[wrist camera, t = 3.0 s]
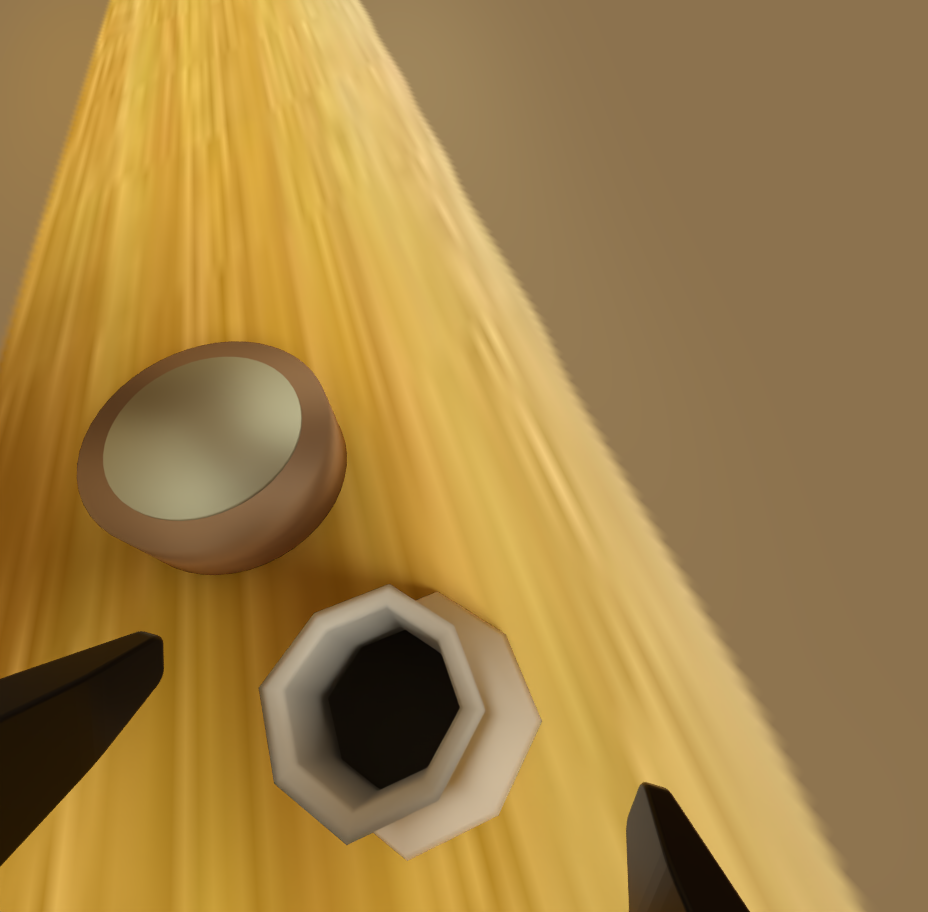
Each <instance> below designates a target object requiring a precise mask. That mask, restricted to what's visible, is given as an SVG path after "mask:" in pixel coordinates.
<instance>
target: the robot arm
mask: <svg viewBox="0 0 928 912" xmlns="http://www.w3.org/2000/svg"><path fill="white" fill-rule="evenodd" d="M163 672H164V656H163V640H162V638H161V637H160V636H157V635H154V634H151V633H147V632H142V631H140V632H136V633H133V634H130V635H127V636H124V637H121V638H118V639H115V640H112V641H109V642H106V643H103V644H101V645H98V646H95V647H92V648H89V649H86V650H83V651H80V652H77V653H74V654H71V655H68V656H66V657H63V658H60V659H57V660H54V661H51V662H48V663H45V664H42V665H39V666H36V667H33V668H30V669H28V670H25V671H22V672H19V673H16V674H13V675H10V676H7V677H4V678H1V679H0V866H1V865H2V864H3V863H4V862H5V861H6V860H7V859H8V858H9V857H10V856H11V854H12V853H13V852H14V851H15V850H16V849H17V848H18V847H19V846H20V845H21V844H22V843H23V841H24V840H25V839H26V838H27V837H28V836H29V835H30V834H31V833H32V832H33V831H34V830H35V829H36V827H37V826H38V825H39V824H40V823H41V822H42V821H43V820H44V819H45V818H46V817H47V816H48V814H49V813H50V812H51V811H52V810H53V809H54V808H55V807H56V806H57V805H58V804H59V803H60V801H61V800H62V799H63V798H64V797H65V796H66V795H67V794H68V793H69V792H70V791H71V790H72V789H73V787H74V786H75V785H76V784H77V783H78V782H79V781H80V780H81V779H82V778H83V777H84V775H85V774H86V773H87V772H88V771H89V770H90V769H91V768H92V766H93V765H94V764H95V763H96V762H97V761H98V759H99V758H100V757H101V756H102V755H103V753H104V752H105V751H106V750H107V749H108V747H109V746H110V745H111V743H112V742H113V741H114V740H115V738H116V737H117V736H118V735H119V733H120V732H121V731H122V730H123V728H124V727H125V726H126V724H127V723H128V722H129V721H130V719H131V718H132V717H133V716H134V714H135V713H136V712H137V711H138V709H139V708H140V707H141V705H142V704H143V703H144V702H145V700H146V699H147V698H148V697H149V695H150V694H151V693H152V692H153V690H154V689H155V688H156V686H157V685H158V684H159V682H160V680H161V678H162V675H163ZM626 840H627V866H628V893H629V912H750V911H749V910H748V908H747V907H746V905H745V904H744V902H743V901H742V899H741V898H740V896H739V895H738V893H737V892H736V890H735V889H734V887H733V886H732V884H731V883H730V881H729V880H728V878H727V876H726V875H725V873H724V872H723V870H722V869H721V867H720V866H719V864H718V863H717V861H716V860H715V858H714V857H713V855H712V854H711V852H710V851H709V849H708V848H707V846H706V845H705V843H704V842H703V840H702V839H701V837H700V836H699V834H698V833H697V831H696V830H695V828H694V827H693V825H692V824H691V822H690V821H689V819H688V818H687V816H686V815H685V813H684V812H683V810H682V809H681V807H680V806H679V804H678V803H677V801H676V800H675V798H674V797H673V795H672V794H671V793H670V792H669V791H668V790H667V789H666V788H664V787H660V786H657V785H654V784H650V783H647V782H643V783H642V784H641V785H640V786H639V789H638V791H637V794H636V796H635V799H634V802H633V804H632V807H631V810H630V812H629V815H628V819H627V826H626Z"/></svg>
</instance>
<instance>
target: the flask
mask: <svg viewBox="0 0 928 912" xmlns="http://www.w3.org/2000/svg"><path fill="white" fill-rule="evenodd" d="M259 692H260V699H261V705H262V711H263V717H264V723H265V729H266V736H267V742H268V748H269V754H270V760H271V766H272V773H273V779H274V784H276V785H277V786H278V787H279V788H280V789H281V790H283V791H284V792H285V793H286V794H287V795H288V796H290V797H291V798H292V799H293V800H294V801H296V802H297V803H298V804H299V805H300V806H301V807H303V808H304V809H305V810H306V811H307V812H308V813H310V814H311V815H312V816H313V817H314V818H316V819H317V820H318V821H319V822H320V823H321V824H323V825H324V826H325V827H326V828H327V829H328V830H330V831H331V832H332V833H333V834H334V835H336V836H337V837H338V838H339V839H340V840H341V841H343V842H344V843H345V844H346V845H348V844H350V843H352V842H354V841H356V840H358V839H360V838H363V837H365V836H367V835H369V834H371V833H374V834H375V835H377V836H378V837H379V838H380V839H382V840H383V841H384V842H385V843H386V844H388V845H389V846H390V847H391V848H392V849H394V850H395V851H396V852H397V853H398V854H400V855H401V856H402V857H403V858H405V859H406V860H407V861H408V860H410V859H412V858H414V857H416V856H418V855H420V854H422V853H424V852H426V851H428V850H430V849H432V848H434V847H436V846H438V845H440V844H442V843H444V842H446V841H448V840H450V839H452V838H454V837H456V836H458V835H460V834H462V833H464V832H466V831H468V830H470V829H472V828H474V827H476V826H478V825H480V824H482V823H484V822H486V821H488V820H490V819H492V818H494V817H496V816H498V815H499V813H500V811H501V809H502V806H503V804H504V802H505V800H506V798H507V796H508V793H509V791H510V789H511V787H512V785H513V783H514V780H515V778H516V776H517V774H518V772H519V770H520V768H521V765H522V763H523V761H524V759H525V757H526V755H527V752H528V750H529V748H530V746H531V744H532V742H533V739H534V737H535V735H536V733H537V731H538V729H539V726H540V724H541V722H542V720H541V718H540V716H539V713H538V711H537V708H536V706H535V704H534V701H533V699H532V696H531V694H530V692H529V689H528V687H527V684H526V682H525V680H524V677H523V675H522V672H521V670H520V668H519V665H518V663H517V660H516V658H515V656H514V653H513V651H512V648H511V646H510V643H509V641H508V639H507V636H506V634H504V633H503V632H501V631H500V630H498V629H496V628H495V627H493V626H492V625H490V624H488V623H487V622H485V621H484V620H482V619H480V618H479V617H477V616H476V615H474V614H473V613H471V612H469V611H468V610H466V609H465V608H463V607H461V606H460V605H458V604H457V603H455V602H453V601H452V600H450V599H449V598H447V597H446V596H444V595H442V594H441V593H439V592H438V591H437V592H435V593H432V594H430V595H427V596H425V597H422V598H420V599H417V600H414V599H412V598H411V597H409V596H407V595H406V594H404V593H403V592H401V591H400V590H398V589H397V588H395V587H393V586H392V585H390V584H388V585H385V586H383V587H380V588H378V589H375V590H372V591H370V592H367V593H365V594H362V595H360V596H357V597H354V598H352V599H349V600H347V601H344V602H342V603H339V604H336V605H334V606H331V607H329V608H326V609H324V610H321V611H318V612H316V613H314V614H313V615H312V617H311V618H310V619H309V621H308V622H307V623H306V625H305V626H304V628H303V629H302V630H301V632H300V633H299V634H298V636H297V637H296V638H295V640H294V641H293V642H292V644H291V645H290V646H289V648H288V649H287V650H286V652H285V653H284V655H283V656H282V657H281V659H280V660H279V661H278V663H277V664H276V665H275V667H274V668H273V669H272V671H271V672H270V673H269V675H268V676H267V677H266V679H265V680H264V682H263V683H262V684H261V686H260V687H259Z"/></svg>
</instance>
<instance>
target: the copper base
mask: <svg viewBox="0 0 928 912" xmlns="http://www.w3.org/2000/svg"><path fill="white" fill-rule="evenodd" d="M346 466H347V452H346V445H345V440H344V437H343V434H342V431H341V429H340V426H339V424H338V422H337V420H336V417H335V415H334V413H333V410H332V408H331V406H330V404H329V401H328V399H327V397H326V395H325V392H324V390H323V388H322V386H321V384H320V382H319V380H318V379H317V377H316V376H315V375H314V373H313V372H312V371H311V370H310V369H309V368H308V367H307V366H306V365H305V364H304V363H303V362H301V361H300V360H299V359H297V358H296V357H294V356H293V355H291V354H289V353H287V352H285V351H283V350H280V349H277V348H275V347H272V346H268V345H264V344H259V343H251V342H221V343H213V344H208V345H202V346H198V347H195V348H191V349H187V350H185V351H182V352H179V353H176V354H174V355H171V356H169V357H167V358H165V359H163V360H161V361H159V362H157V363H155V364H153V365H152V366H150V367H148V368H146V369H145V370H143V371H142V372H140V373H139V374H137V375H136V376H135V377H133V378H132V379H131V380H129V381H128V382H127V383H126V384H125V385H123V386H122V387H121V388H120V389H119V390H118V391H117V392H116V393H115V394H114V395H113V396H112V397H111V398H110V399H109V400H108V401H107V402H106V404H105V405H104V406H103V407H102V409H101V410H100V411H99V413H98V414H97V416H96V417H95V419H94V420H93V422H92V423H91V425H90V427H89V429H88V431H87V433H86V435H85V437H84V440H83V443H82V446H81V449H80V453H79V458H78V463H77V482H78V489H79V493H80V496H81V499H82V502H83V504H84V506H85V508H86V510H87V511H88V513H89V515H90V516H91V517H92V518H93V519H94V521H95V522H96V523H97V524H98V525H99V526H100V527H101V528H103V529H104V530H105V531H107V532H108V533H109V534H111V535H112V536H114V537H116V538H118V539H120V540H122V541H124V542H126V543H128V544H130V545H132V546H133V547H135V548H137V549H139V550H141V551H143V552H145V553H147V554H149V555H151V556H153V557H155V558H157V559H159V560H160V561H162V562H164V563H166V564H168V565H170V566H172V567H174V568H177V569H180V570H183V571H187V572H191V573H197V574H206V575H221V574H230V573H237V572H241V571H245V570H250V569H252V568H255V567H258V566H261V565H264V564H266V563H268V562H270V561H272V560H274V559H276V558H279V557H280V556H282V555H284V554H285V553H287V552H288V551H290V550H292V549H293V548H295V547H296V546H297V545H298V544H300V543H301V542H302V541H303V540H305V539H306V538H307V537H308V536H309V535H310V534H311V533H312V532H313V531H314V530H315V529H316V528H317V527H318V526H319V525H320V523H321V522H322V521H323V520H324V519H325V517H326V516H327V515H328V513H329V511H330V510H331V508H332V507H333V505H334V503H335V501H336V499H337V497H338V495H339V493H340V491H341V488H342V484H343V481H344V478H345V472H346Z"/></svg>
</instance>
